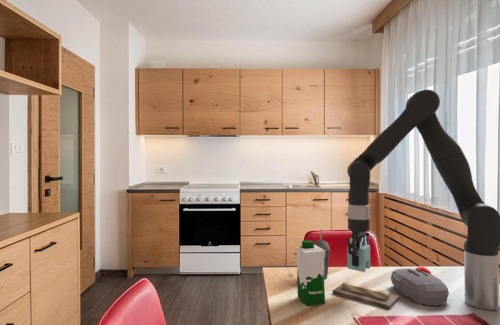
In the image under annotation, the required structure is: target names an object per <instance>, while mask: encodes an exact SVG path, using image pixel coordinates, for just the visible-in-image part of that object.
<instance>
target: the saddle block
mask: <svg viewBox="0 0 500 325" xmlns="http://www.w3.org/2000/svg"><path fill="white" fill-rule="evenodd" d="M356 247H358V246H356ZM346 248H347V252H346V253H347V254H346V255H347V256H346V258H347V264H346V265H347V269H348V270H352V271H353V270H354V271H356V272H362V273H365V272H366V271H367V270H366V269H368V270H369V269H371V245H370V244H369V245H362V246H361V248H360V249H359V266H358V267H356V266H352V255H350V254H349V252H348V245H347V247H346ZM356 251H357V249H356Z"/></svg>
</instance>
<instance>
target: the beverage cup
mask: <svg viewBox="0 0 500 325" xmlns="http://www.w3.org/2000/svg"><path fill="white" fill-rule="evenodd" d="M322 231H323V229H322V228H320V231H319V232H320V239H318V240H316V241H315V242H314V245H316V246H318V247H320V248H322V249H323V250H325V251H326V252H325V258H324V281H325V280H327V279H328V275H329V274H328V272H329V258H330V253H331V249H330V245H329V243H328V242H327V241H326V240H324V239H322V238H323V236H322V235H323V232H322Z"/></svg>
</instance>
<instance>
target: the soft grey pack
mask: <svg viewBox="0 0 500 325" xmlns="http://www.w3.org/2000/svg"><path fill="white" fill-rule="evenodd" d="M390 281H391V284H392V285H393V287H394V288H395V289H396V290H397V291H398V293H400V294H401V295H402V296H404V297H406V299H409V300H411V301H413V302H415V303H418V304H422V305H427V306H441V305H445V304H446V302H447V301H448V298H449V295H450V291H449V288H448V287H447V285H446V284H445V283H444V282H443V281H442V280H441V279H440V278H439V277H437V276H436V275H434V274H432V273H431V274H429V273H426V272H423V271H420V270H418V269H416V268H399V269H395V270H393V271H392V273H391V274H390Z"/></svg>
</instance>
